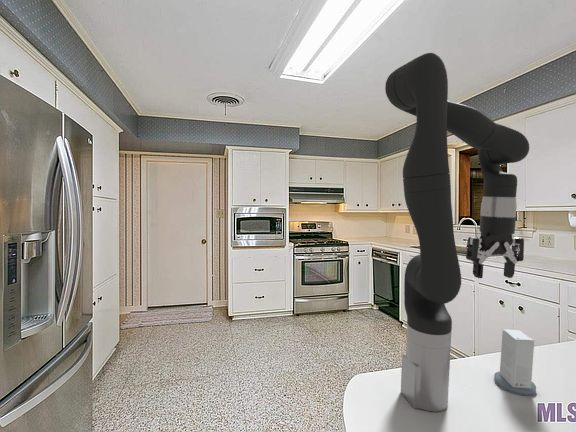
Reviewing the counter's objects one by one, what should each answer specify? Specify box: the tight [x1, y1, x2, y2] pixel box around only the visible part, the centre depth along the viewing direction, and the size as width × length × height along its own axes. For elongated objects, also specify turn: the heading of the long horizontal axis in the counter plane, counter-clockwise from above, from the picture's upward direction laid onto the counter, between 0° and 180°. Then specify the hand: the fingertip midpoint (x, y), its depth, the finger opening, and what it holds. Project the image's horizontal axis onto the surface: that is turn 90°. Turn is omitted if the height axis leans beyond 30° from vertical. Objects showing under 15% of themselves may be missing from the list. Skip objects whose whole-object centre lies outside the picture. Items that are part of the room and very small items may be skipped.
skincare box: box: [499, 328, 535, 389], centre depth 77 cm, size 6×4×12 cm
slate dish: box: [493, 371, 537, 397], centre depth 78 cm, size 8×8×1 cm
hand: (493, 277), depth 81 cm, fingers open, 8 cm apart
